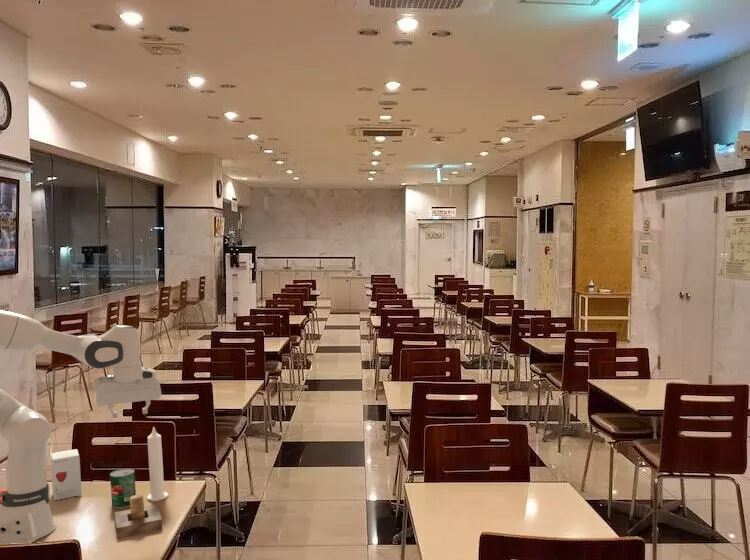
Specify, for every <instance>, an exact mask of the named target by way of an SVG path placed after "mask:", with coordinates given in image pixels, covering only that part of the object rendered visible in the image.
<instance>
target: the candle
mask: <svg viewBox="0 0 750 560" xmlns="http://www.w3.org/2000/svg"><path fill="white" fill-rule="evenodd" d="M162 446H163V445H162V435H161V434H159V433H158V432H157V430H156V428H155V426H153V427H152V431H151V433H150V434H149V435H148V436H147V455H148V471H149V489H150V490H149V491H150V493H149V494H148V495H147V497H146V500H147V499H148V500H147V501H149V500H150V501H149V502H159V501H163V500H165V499H167V498H168V497H169V492H167V491H165V482H164V481H165V480H164V465H163V462H164V461H163V448H162Z"/></svg>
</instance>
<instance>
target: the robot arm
mask: <svg viewBox="0 0 750 560" xmlns="http://www.w3.org/2000/svg"><path fill="white" fill-rule="evenodd" d="M0 349H1V350H6V351H11V352H17V353H32V352H34V351H37V350H48V351H52V352H58V353H60V354H61V353H63V354H66V355H69V356H72V357H73V358H74V359H75V360H77V361H78V362H80V364H84V365H87V366H89V367H90V368H93V369H96V370H97V369H105V368H108V367H111V366H112V375H107V376H98V378H96V379H94V381H93V389H94V390H95V391H96V392H95V404H96V405H97V406H98V407H103V406H107V408H108V410H109V412H110V413H111V417H112V418H111V419H115V418H118V412H117V411H116V410H114V409H113V405H118V404H127V403H135V402H136V403H137V402H143V401H145V404H146V405H145V406H144V407H142V410H141V411H142V414H143V415H146V414H148V411H149V410H148V409H149V407H150V405H151V400H152V401H153V400H160V399H161V397H162V388H161V384H160V381H159V379H158V378H157V371H156V370H155V369H154V368H150V367H146V366H145V367H144V366H142V361H141V357H140V356H141V339H140V335H139V330H138V329H137V327H134V326H132V325H126V324H116V325H113V326H112V327H111V328H110V329H109V330H108V331H106V332H104V333H102V334H100V335H97V334H92V333H91V334H89V333H88V334H82V335H74V334H70V333H67V332H61V331H57V330H54V329H51V328H49V327H47V326H46V325H44V324H43V323H42V322H41V321H39V320H37V319H34V318H33V317H29V316H27V315H25V314H24V315H23V314H20V313H17V312H13V311H8V310H3V309H0ZM51 432H52V428H51V425H50V423H49V421H48V419H47V417H46V416H44V415H43V414H41V413H40V412H38V411H36V410H33V409H32V408H30V407H28V406H27V405H25V404H23V403H22V402H21V401H19V400H17V399H16V398H14V397H13V396H12V395H10V394H9V393H8V392H6V391H5V390H3V389H2V388H0V437H1V438H3V439H5V440H6V441H7V443H8V444H7V445H8V452H7V454H8V455H7V460H6V461H7V462H6V464H5V480H6V488H1V489H0V544H11V543H29V542H33V543H34V542H36V541H37V540H38V539H39V540H40V539H41V538H43V537H45V536H47V535H49V534H51V533H53V532H54V531H55V530H56V527H57V525H56V523H55V520H54V517H53V515H52V511H51V505H50V502H51V501H50V499H51V493H50V492H51V491H50V485H49V483H48V478H47V462H46V461H47V451H48V442H49V439H50V437H51Z"/></svg>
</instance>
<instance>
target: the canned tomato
mask: <svg viewBox="0 0 750 560" xmlns="http://www.w3.org/2000/svg"><path fill="white" fill-rule="evenodd" d="M135 475H136V474H135V469H133V468H120V469H116V470H113V471H112V472H110V473H109V478H110V493H111V498H110V499H111V507H112V508H114V509H123V508H124V509H125V508H128V506H129V507H130V497H132V496H134V495H137V494H136V476H135Z"/></svg>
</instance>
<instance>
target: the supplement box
mask: <svg viewBox="0 0 750 560" xmlns="http://www.w3.org/2000/svg"><path fill="white" fill-rule="evenodd" d="M80 462H81V458H80V454H79V450H78V449H77V448H75V449H69V450H60V451H57V452H55V451H54V452H51V453H50V469H51V486H52V489H51V490H52V496H53V500H54V501H55V500H58V501H61V500H60V499H63V500H65V499H64V498H68V499H70V498H69V497H73V496H78V497H80V496H79V495H83V494H82V481H81V480H82V477H81V463H80ZM73 498H74V497H73Z"/></svg>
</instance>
